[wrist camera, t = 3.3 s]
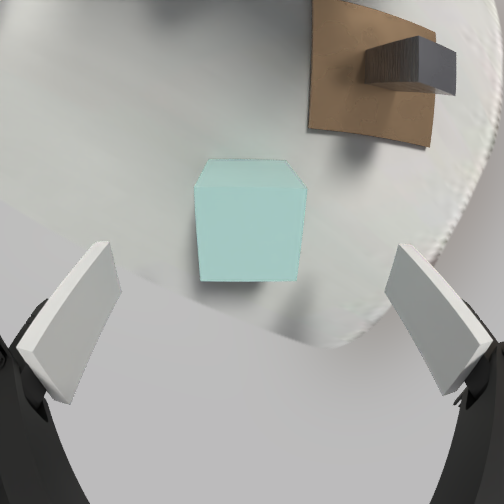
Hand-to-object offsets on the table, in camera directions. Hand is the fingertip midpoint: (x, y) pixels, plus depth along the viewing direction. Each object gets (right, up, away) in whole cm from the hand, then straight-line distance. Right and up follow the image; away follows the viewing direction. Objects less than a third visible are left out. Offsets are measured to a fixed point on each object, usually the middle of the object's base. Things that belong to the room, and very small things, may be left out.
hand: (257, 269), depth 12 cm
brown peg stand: (+9, +13, +3) cm, 16 cm away
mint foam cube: (-1, +5, +8) cm, 9 cm away
